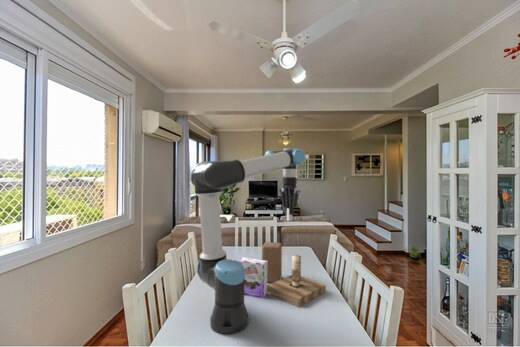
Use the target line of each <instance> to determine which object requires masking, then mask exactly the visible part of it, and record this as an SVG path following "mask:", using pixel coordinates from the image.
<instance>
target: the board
mask: <svg viewBox="0 0 520 347" xmlns="http://www.w3.org/2000/svg"><path fill="white" fill-rule="evenodd" d="M300 284H301V286H300V287H299V288H295V287H292V274H291V275H288V276H286V277H283V278H281V279H280V280H278V281H276V282H273V283H269V284H267V294H270V295H272V296H274V297H276V298H278V299H280V300H282V301H285V302H287V303H289V304H291V305H293V306H295V307H297V308H300V307H301V306H303V305H304V304H307V303H308V302H310V301H312V300H314V299H315V298H318V297H319V296H321V295H322V294H325V293H326V284H323V283H321V282H318V281H315V280H313V279H310V278H308V277H307V278H306V277H304V276H302V275H301V281H300Z"/></svg>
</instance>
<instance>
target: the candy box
mask: <svg viewBox="0 0 520 347" xmlns="http://www.w3.org/2000/svg"><path fill="white" fill-rule="evenodd" d="M237 261H238V262H240V263H241V264H242V265H243V267H244V272H245V278H244V295H245V296H250V297H251V296H252V297H257V298H262V299H264V298H265V297H266V295H268V292H267V285H268V282H267V263H268V261H264V260H262V259H255V258H250V257H249V258H248V257H244V256H243V257H241V258H240V259H239V260H237Z"/></svg>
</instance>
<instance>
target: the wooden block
mask: <svg viewBox="0 0 520 347" xmlns="http://www.w3.org/2000/svg"><path fill="white" fill-rule="evenodd" d="M282 248H283V247H282V243H281V242H273V241H272V242H271V241H266V242H264V243H263V245H262V246H261V260H264V261H268V263H267V284H268V283H269V284H271V283H273V282H276V281H278V280H281V279H282V275H283V274H282V269H283V268H282V267H283V266H282V262H283V261H282V258H283V257H282V256H283V253H282V252H283V249H282Z"/></svg>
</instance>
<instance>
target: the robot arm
mask: <svg viewBox="0 0 520 347" xmlns="http://www.w3.org/2000/svg"><path fill="white" fill-rule="evenodd" d="M305 160H306V154H305V151H304V150H303V149H302V148H294V147H293V148H291V147H287V148H285V147H284V148H283V149H282V150H268V151H266V152H265V153H264V155H262V156H258V157H257V156H256V157H254V158H248V159H244V160H240V159H234V160H212V161H201V162H199V163H196V164H195V165H194V166H193V167H192V169H191V170H190V174H189V178H190V183H191V184H192V185H193V186H194V192H195V193H194V195H196V196H197V197H198V202H199V204H198V205H199V214H200V215H199V218H200V230H201V244H202V246H201V247H202V252H201V253H200V254H199V261H197V263H196V274H197V275H198V278H199V279H200V280H201V281H202V282H203V283H205V284H206V285H207V286H209V287H210V288H212V290H214V306H213V309H212V313H211V315H210V321H209V324H210V326H209V327H210V328H211V329H212V330H213V331H214V332H215V333H218V334H224V335H230V334H236V333H239V332H242V331H243V330H245V329H246V328H247V327H248V325H249V313H248V310H247V307H246V304H245V294H244V278H245V272H244V267H243V265H242V264H241V263H240V262H238V261H239V260H234V259H229V258H227V252H226V250H224V248H223V239H222V237H223V236H222V224H221V208H220V207H221V206H220V195H221V194H222V193H223V189H225V188H228V187H232V186H235V185H237V184H241V183H243V182H244V181H245V179H248V178H251V177H256V176H259V175H263V174H266V173H270V172H273V171H276V170H281V169H282V176H283V177H282V188H280V189H279V193H280V196H281V203H282V207H284V208H285V214H286V221H287V222H289V221H293V214H294V208H296V207H297V205H298V199H299V194H300V192H301V190H300V189H298V188H297V184H298V183H297V180H298V179H297V173H298V172H297V171H298V170H297V169H298V168H297V166H298V165H299V166H300V165H302V164H304V163H305Z"/></svg>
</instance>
